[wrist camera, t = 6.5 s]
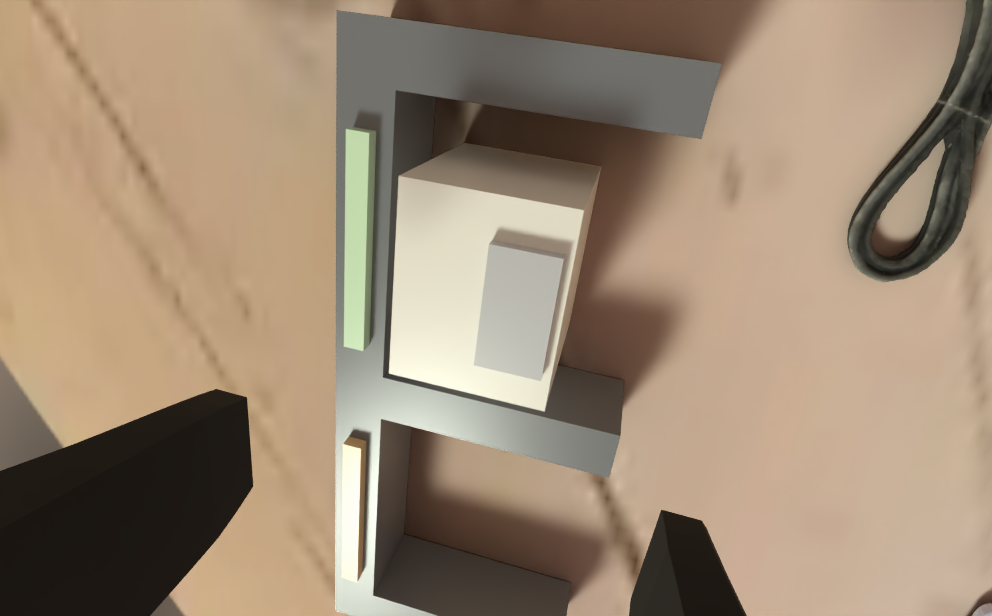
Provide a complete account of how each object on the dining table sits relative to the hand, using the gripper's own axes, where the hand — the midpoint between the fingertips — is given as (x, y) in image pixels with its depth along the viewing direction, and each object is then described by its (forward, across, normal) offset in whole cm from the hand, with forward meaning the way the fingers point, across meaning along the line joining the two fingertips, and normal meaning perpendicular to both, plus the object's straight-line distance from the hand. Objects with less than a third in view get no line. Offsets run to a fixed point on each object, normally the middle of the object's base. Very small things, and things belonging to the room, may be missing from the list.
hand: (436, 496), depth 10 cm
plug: (+9, +1, -2) cm, 10 cm away
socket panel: (+9, +1, +3) cm, 10 cm away
